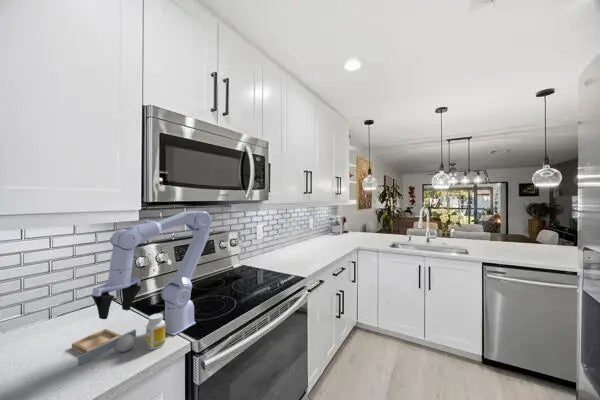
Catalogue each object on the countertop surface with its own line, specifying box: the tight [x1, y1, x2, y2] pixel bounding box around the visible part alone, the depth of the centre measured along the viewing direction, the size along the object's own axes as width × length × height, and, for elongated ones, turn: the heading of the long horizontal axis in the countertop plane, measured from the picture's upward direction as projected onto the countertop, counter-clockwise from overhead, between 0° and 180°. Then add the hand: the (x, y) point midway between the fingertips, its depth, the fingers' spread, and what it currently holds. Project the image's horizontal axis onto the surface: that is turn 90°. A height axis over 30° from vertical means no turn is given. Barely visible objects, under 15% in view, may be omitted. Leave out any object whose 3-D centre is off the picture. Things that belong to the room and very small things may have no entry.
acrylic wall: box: [77, 328, 137, 366], centre depth 80 cm, size 16×1×2 cm, turn 154°
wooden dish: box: [71, 328, 122, 354], centre depth 83 cm, size 10×10×2 cm
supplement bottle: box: [145, 312, 166, 350], centre depth 82 cm, size 5×5×10 cm
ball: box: [115, 333, 135, 353], centre depth 80 cm, size 5×5×5 cm
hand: (115, 313), depth 77 cm, fingers open, 7 cm apart
